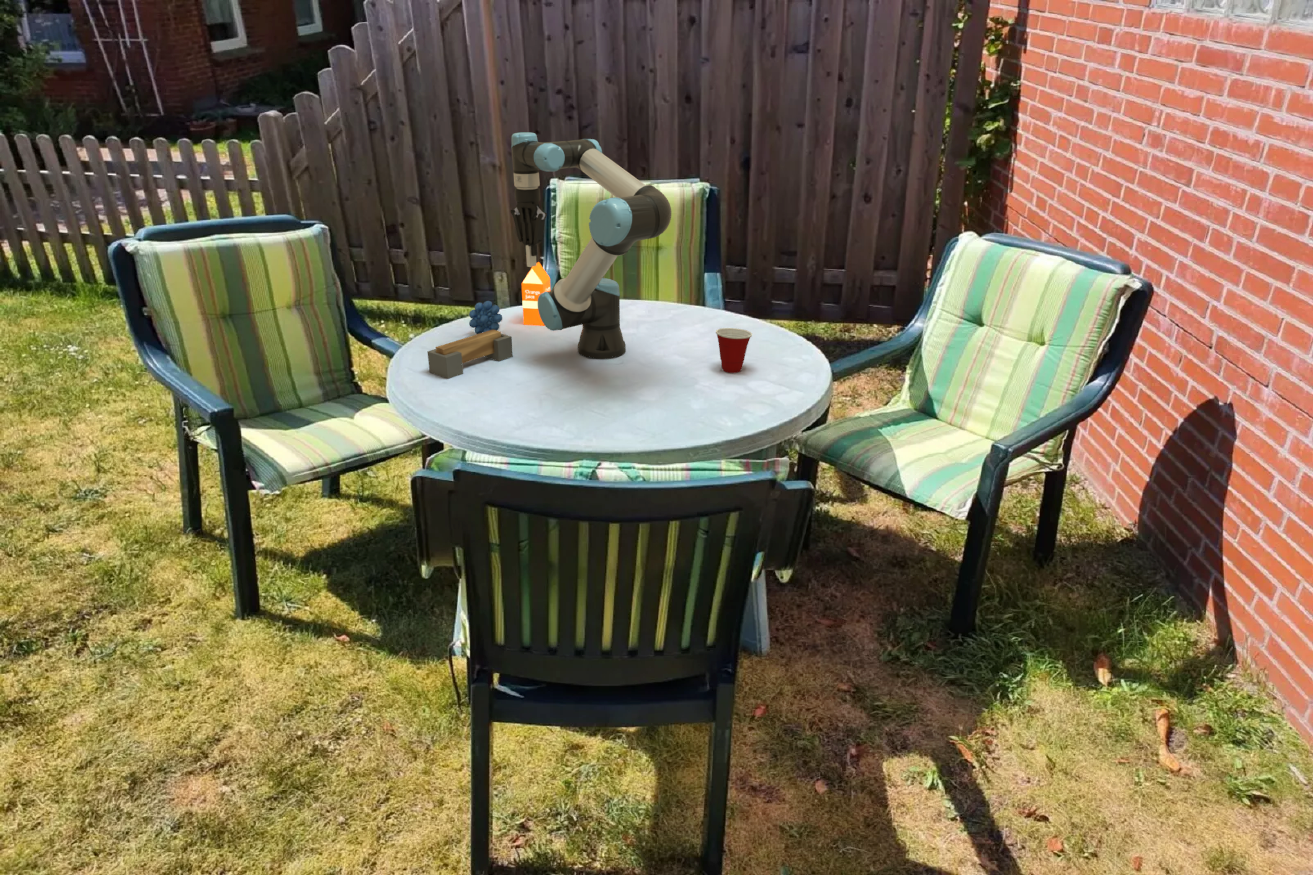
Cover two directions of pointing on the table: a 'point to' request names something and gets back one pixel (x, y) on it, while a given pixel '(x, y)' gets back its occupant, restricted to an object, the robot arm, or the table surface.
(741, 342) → the plastic cup
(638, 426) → the table surface
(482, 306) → the grapes
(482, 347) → the slat
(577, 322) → the robot arm
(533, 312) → the orange juice
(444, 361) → the end caps
